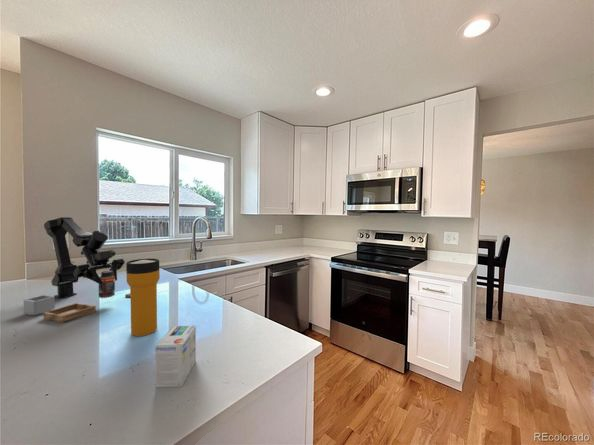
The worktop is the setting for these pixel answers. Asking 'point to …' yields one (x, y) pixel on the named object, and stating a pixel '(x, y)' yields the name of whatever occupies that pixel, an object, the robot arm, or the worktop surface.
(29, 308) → the grey open square bin
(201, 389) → the worktop surface
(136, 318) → the flashlight
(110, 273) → the supplement bottle
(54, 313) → the tray
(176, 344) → the light bulb box
